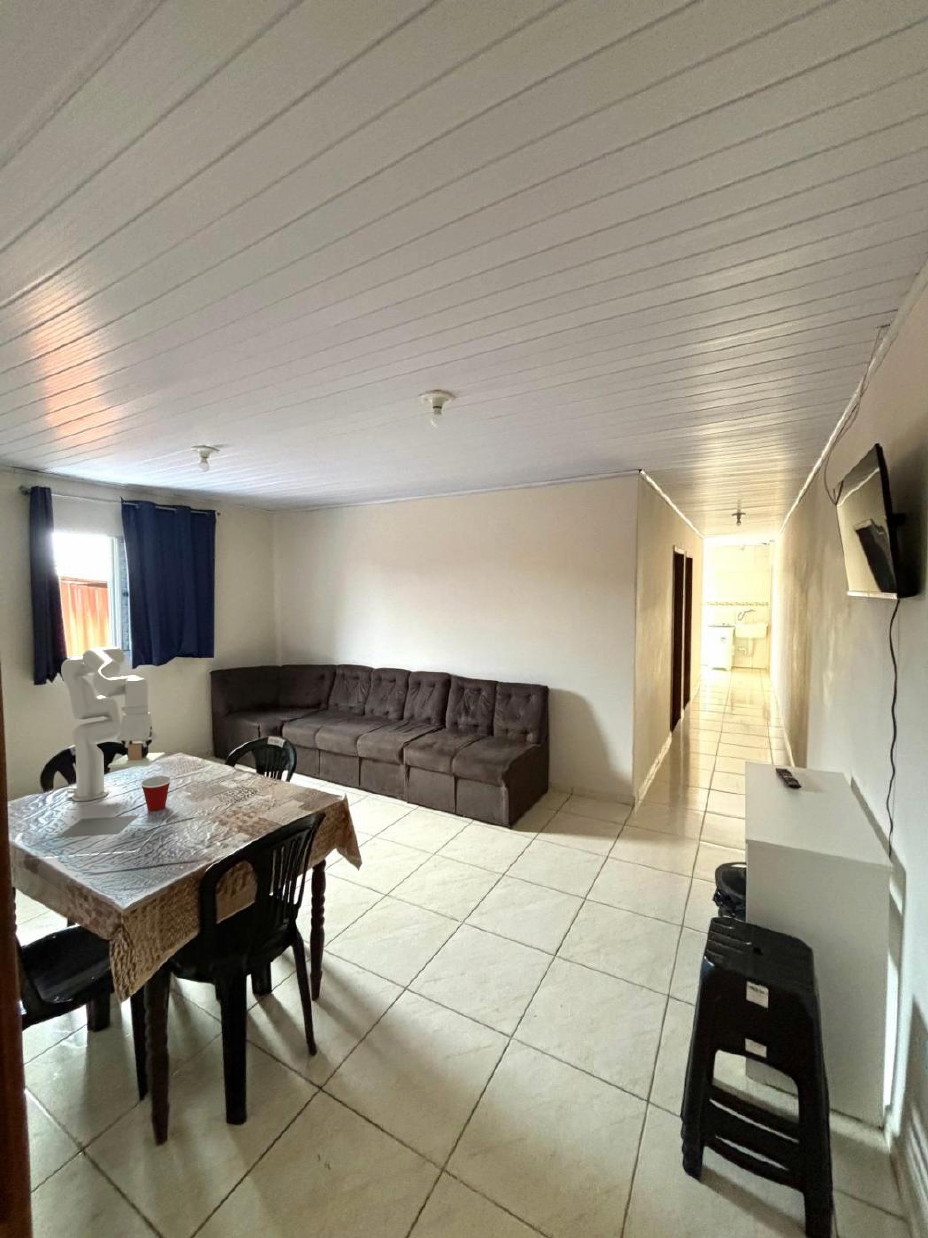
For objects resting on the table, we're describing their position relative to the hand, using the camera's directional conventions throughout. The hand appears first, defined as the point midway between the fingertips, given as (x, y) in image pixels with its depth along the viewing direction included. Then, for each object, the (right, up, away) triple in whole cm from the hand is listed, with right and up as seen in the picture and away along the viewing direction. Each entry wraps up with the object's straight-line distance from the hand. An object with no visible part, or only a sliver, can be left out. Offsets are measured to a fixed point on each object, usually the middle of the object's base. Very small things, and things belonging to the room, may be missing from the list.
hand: (137, 756), depth 199 cm
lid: (0, -2, 0) cm, 2 cm away
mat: (-8, -24, -10) cm, 27 cm away
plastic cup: (+4, -23, +6) cm, 24 cm away
